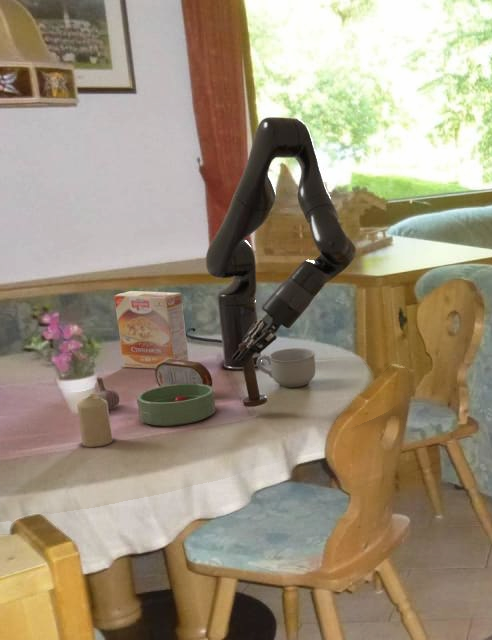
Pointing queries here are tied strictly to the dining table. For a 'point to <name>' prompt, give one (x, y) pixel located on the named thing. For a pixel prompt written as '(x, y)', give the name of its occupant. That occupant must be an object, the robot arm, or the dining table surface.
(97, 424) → the candle
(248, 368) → the muddler
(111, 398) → the garlic bulb
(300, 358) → the teacup
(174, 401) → the berry
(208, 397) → the bowl
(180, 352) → the coffeecake box
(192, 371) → the tin
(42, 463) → the dining table surface
